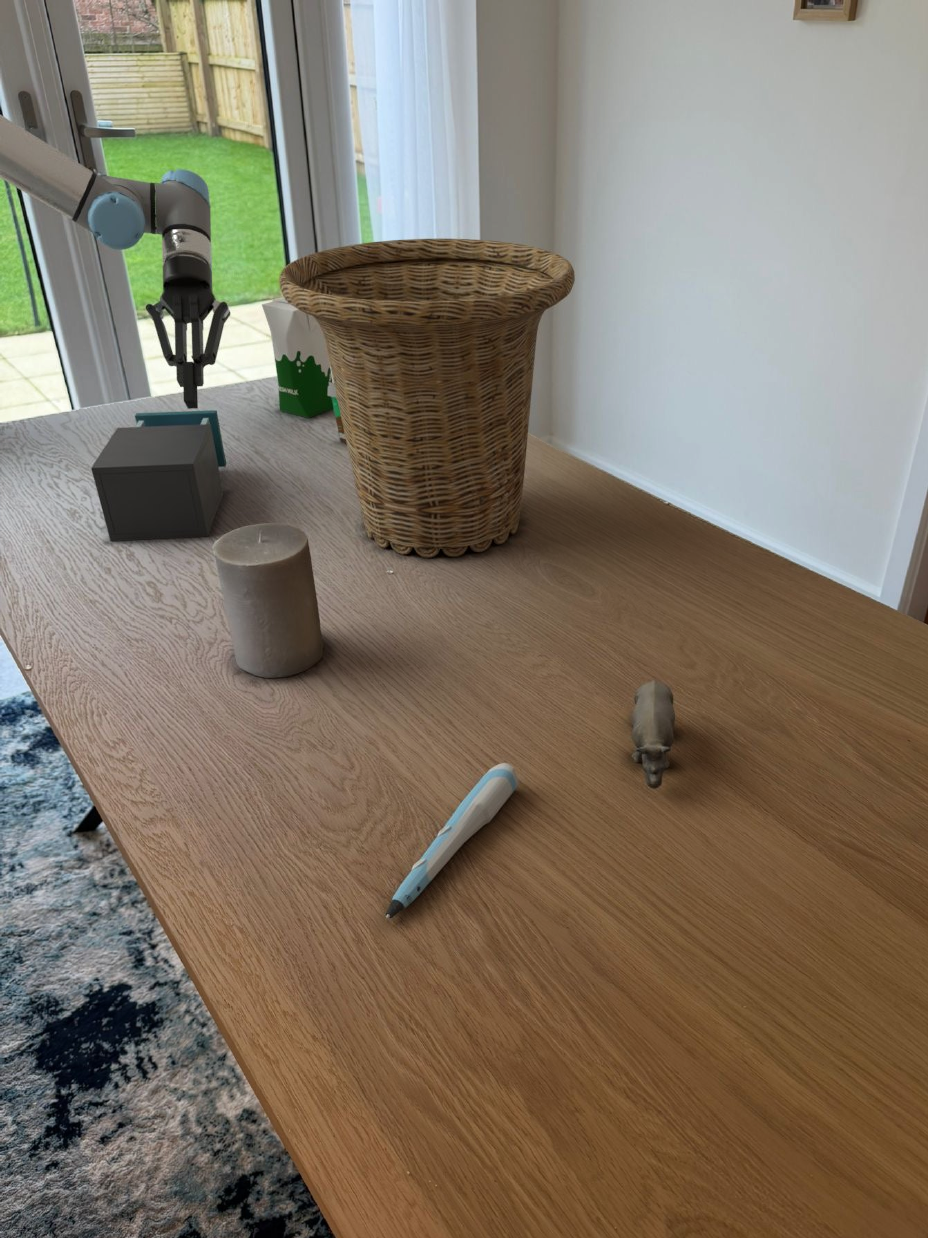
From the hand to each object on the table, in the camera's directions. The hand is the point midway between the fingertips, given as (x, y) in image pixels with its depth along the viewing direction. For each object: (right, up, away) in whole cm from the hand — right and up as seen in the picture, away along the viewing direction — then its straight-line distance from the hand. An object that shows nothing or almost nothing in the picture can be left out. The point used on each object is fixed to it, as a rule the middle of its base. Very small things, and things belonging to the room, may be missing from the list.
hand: (190, 404), depth 160 cm
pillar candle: (+25, -42, -47) cm, 68 cm away
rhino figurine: (+65, -53, -63) cm, 104 cm away
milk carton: (+14, +5, +20) cm, 25 cm away
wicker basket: (+41, -22, -19) cm, 51 cm away
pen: (+47, -60, -72) cm, 105 cm away
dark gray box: (+3, -21, -17) cm, 27 cm away
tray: (+1, -13, -7) cm, 15 cm away
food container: (+28, -4, +8) cm, 29 cm away
